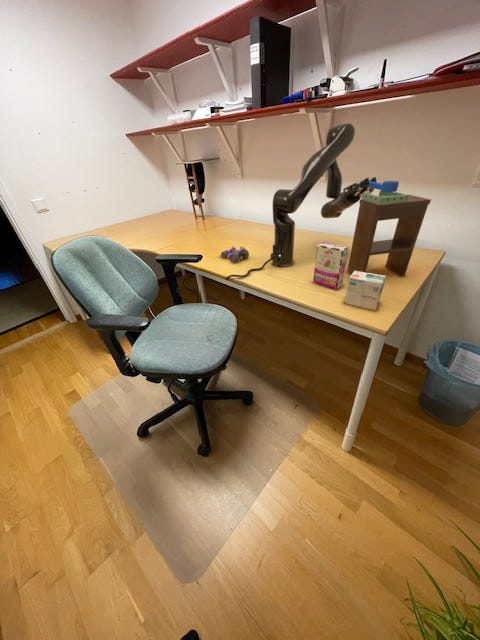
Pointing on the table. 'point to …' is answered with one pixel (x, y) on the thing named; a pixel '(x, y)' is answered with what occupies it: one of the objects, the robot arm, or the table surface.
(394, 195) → the green shallow tray
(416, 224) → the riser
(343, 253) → the candy bar box
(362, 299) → the light bulb box
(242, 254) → the purple lumpy cluster
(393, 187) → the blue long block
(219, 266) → the table surface
